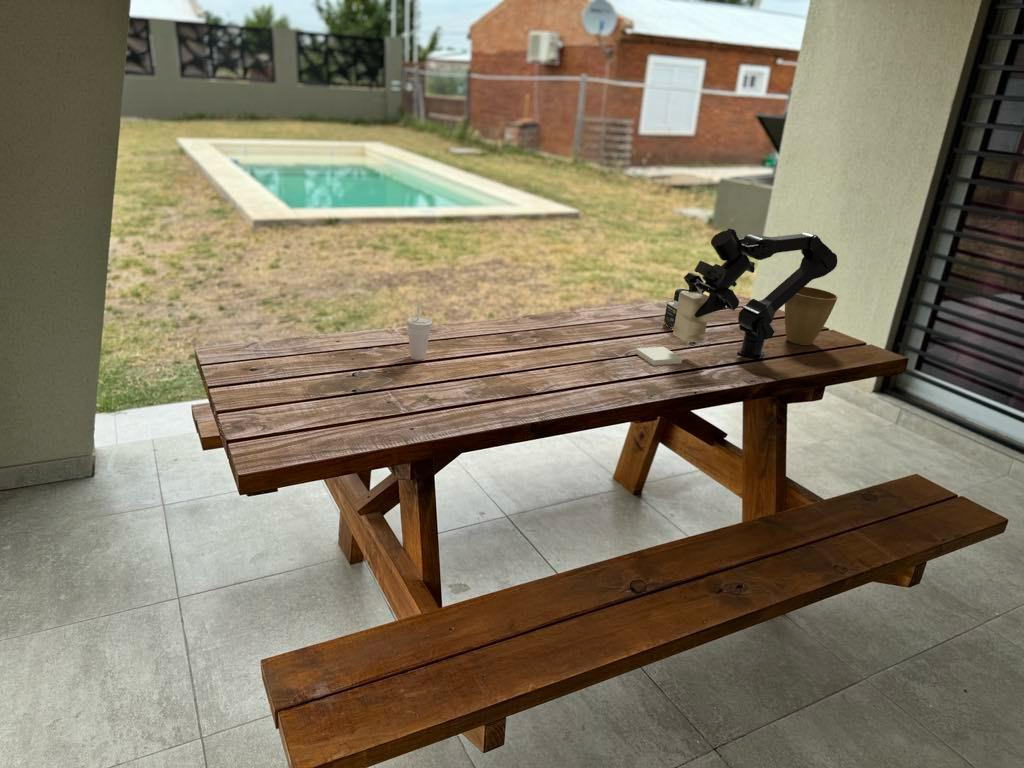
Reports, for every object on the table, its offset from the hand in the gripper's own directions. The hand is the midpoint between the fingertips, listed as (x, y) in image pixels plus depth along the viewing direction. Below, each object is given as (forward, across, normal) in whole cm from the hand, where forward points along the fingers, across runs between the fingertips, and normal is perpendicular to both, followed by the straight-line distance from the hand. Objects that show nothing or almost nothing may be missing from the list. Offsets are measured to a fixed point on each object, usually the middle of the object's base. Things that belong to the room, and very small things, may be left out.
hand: (688, 312), depth 200 cm
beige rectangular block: (+4, 0, +6) cm, 7 cm away
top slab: (+14, 0, +4) cm, 15 cm away
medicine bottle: (-2, -25, +22) cm, 34 cm away
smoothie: (+60, -13, -41) cm, 74 cm away
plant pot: (-26, -7, +45) cm, 53 cm away
